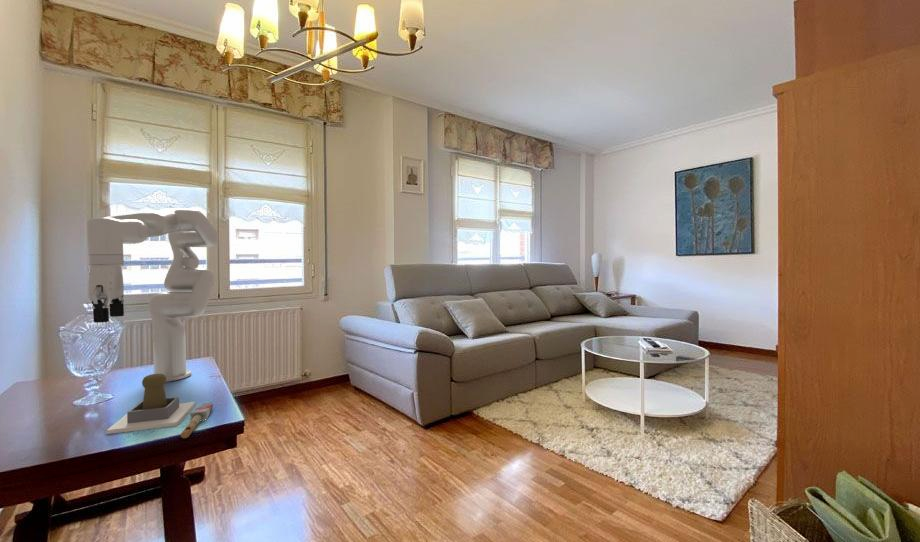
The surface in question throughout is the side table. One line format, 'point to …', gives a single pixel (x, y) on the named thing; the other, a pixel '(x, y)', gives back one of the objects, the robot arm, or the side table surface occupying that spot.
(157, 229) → the robot arm
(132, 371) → the side table surface
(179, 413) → the beige square socket base
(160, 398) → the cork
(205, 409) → the paintbrush
